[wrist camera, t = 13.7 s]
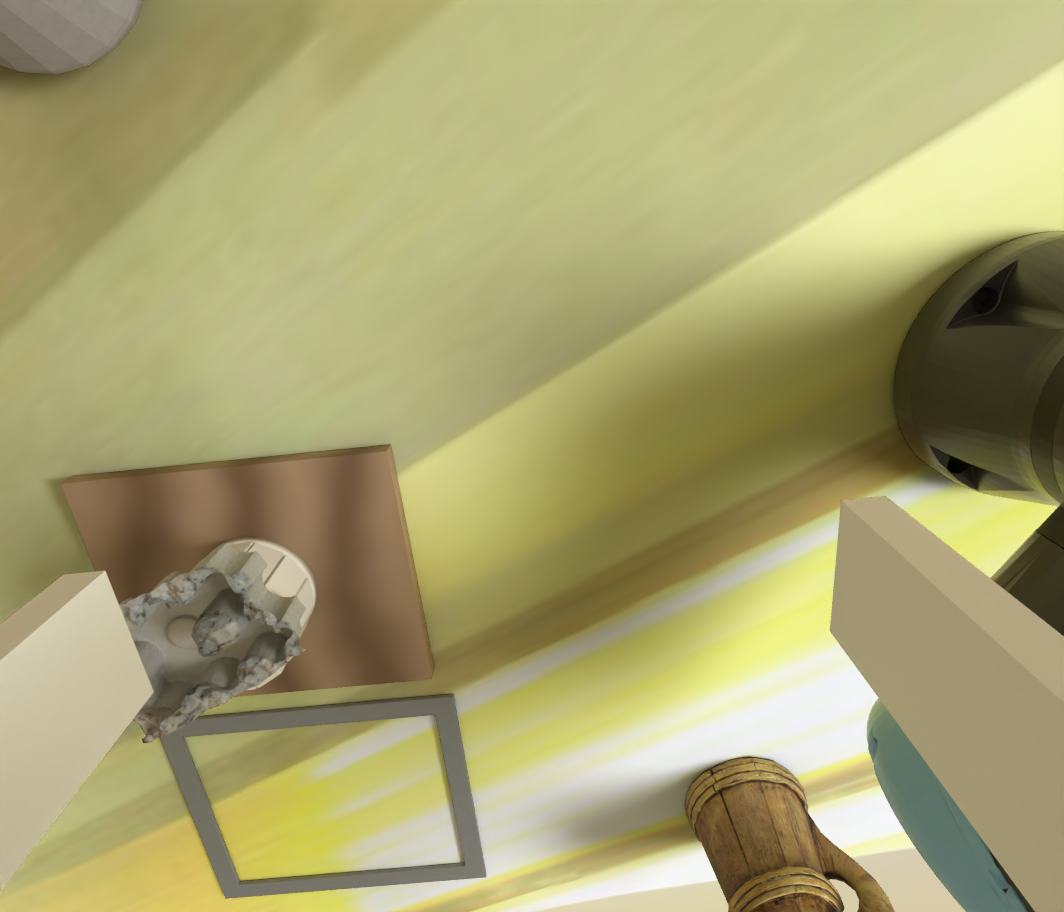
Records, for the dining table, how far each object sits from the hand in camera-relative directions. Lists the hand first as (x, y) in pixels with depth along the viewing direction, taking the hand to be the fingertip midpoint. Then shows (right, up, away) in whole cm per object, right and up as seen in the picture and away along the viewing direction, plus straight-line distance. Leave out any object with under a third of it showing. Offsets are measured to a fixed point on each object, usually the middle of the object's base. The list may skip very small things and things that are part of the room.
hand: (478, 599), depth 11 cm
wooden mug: (+20, -24, +39) cm, 50 cm away
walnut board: (-17, -5, +31) cm, 35 cm away
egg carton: (-17, -6, +24) cm, 30 cm away
